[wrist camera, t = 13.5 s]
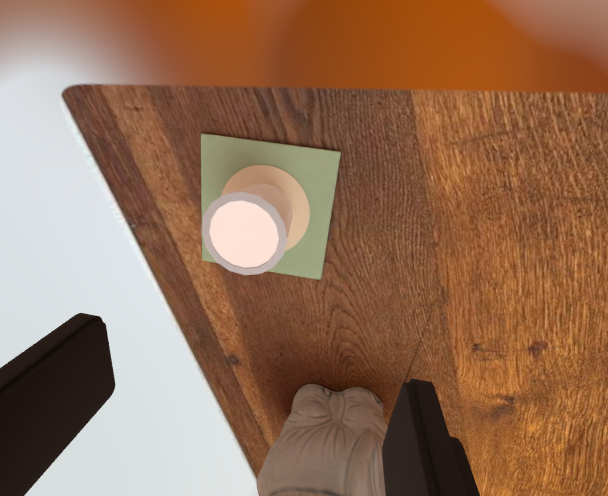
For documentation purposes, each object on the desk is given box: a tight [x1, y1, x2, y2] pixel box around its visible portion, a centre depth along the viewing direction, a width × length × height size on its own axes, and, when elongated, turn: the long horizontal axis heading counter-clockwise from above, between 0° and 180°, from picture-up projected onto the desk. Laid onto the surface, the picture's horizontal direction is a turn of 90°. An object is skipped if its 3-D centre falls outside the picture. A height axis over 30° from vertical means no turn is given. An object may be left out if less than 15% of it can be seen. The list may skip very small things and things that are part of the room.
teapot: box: [257, 384, 388, 496], centre depth 31 cm, size 16×15×19 cm
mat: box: [201, 133, 341, 280], centre depth 31 cm, size 13×13×1 cm
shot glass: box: [201, 184, 293, 275], centre depth 27 cm, size 7×7×7 cm
